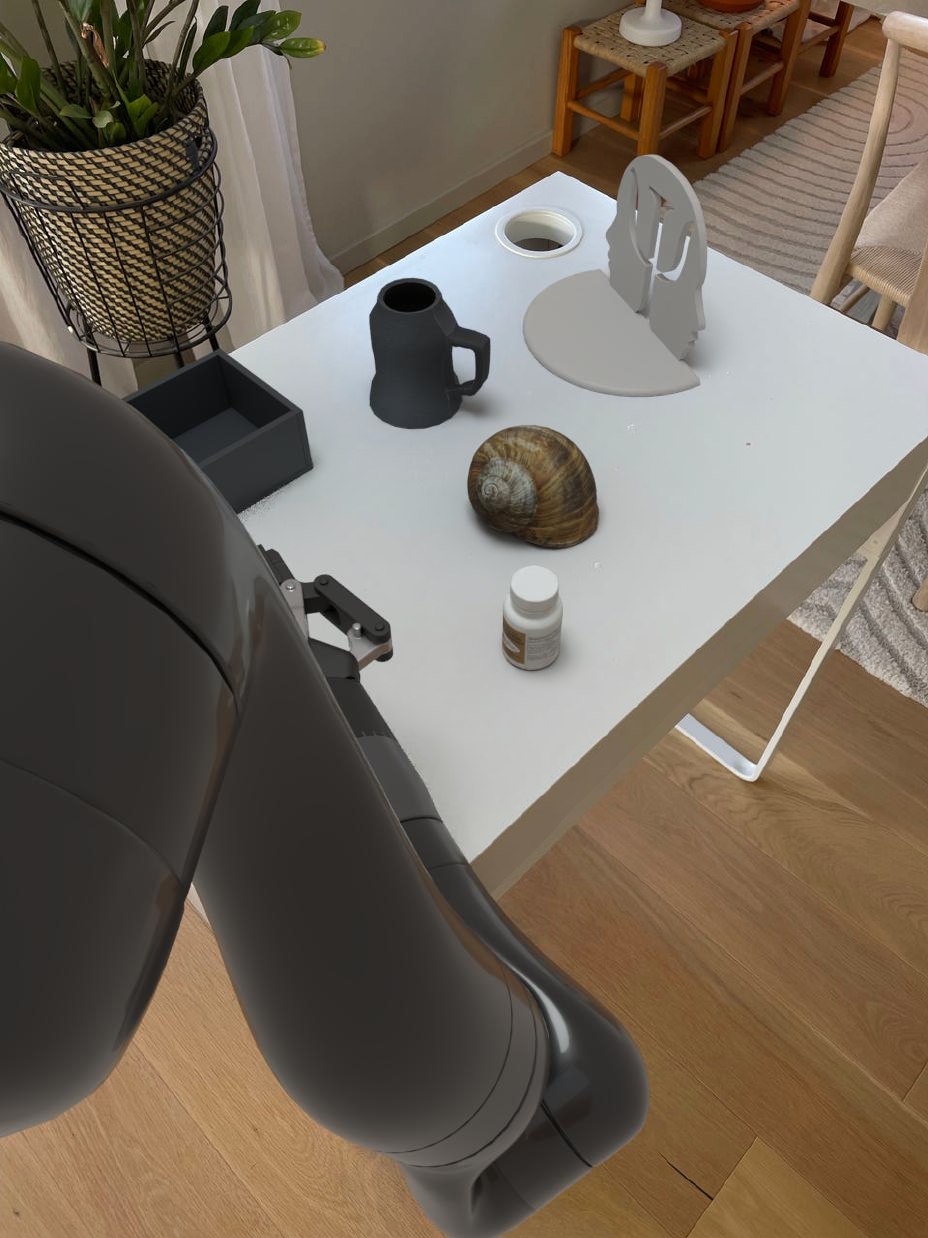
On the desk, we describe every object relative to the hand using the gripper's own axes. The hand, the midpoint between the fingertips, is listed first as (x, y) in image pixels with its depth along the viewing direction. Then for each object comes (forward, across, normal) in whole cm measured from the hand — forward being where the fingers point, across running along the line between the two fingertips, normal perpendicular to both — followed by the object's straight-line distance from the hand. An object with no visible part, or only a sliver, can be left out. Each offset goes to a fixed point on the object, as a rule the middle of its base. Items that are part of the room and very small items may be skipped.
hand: (215, 573), depth 57 cm
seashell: (+8, -28, +16) cm, 34 cm away
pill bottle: (-4, -20, +16) cm, 27 cm away
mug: (+26, -28, +16) cm, 42 cm away
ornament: (+26, -47, +16) cm, 56 cm away
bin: (+28, -7, +16) cm, 33 cm away
